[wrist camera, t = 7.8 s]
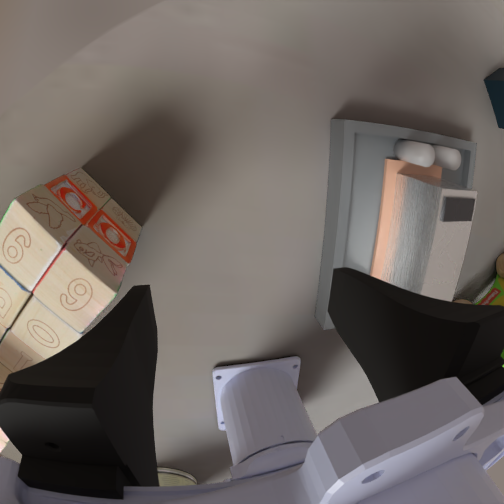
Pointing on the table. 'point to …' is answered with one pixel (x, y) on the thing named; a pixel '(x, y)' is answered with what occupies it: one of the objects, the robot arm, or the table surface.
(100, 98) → the table surface
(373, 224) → the tray
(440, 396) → the robot arm
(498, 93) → the watch
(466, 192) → the drive
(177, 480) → the coffee can
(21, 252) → the stack of blocks
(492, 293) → the toy lion
